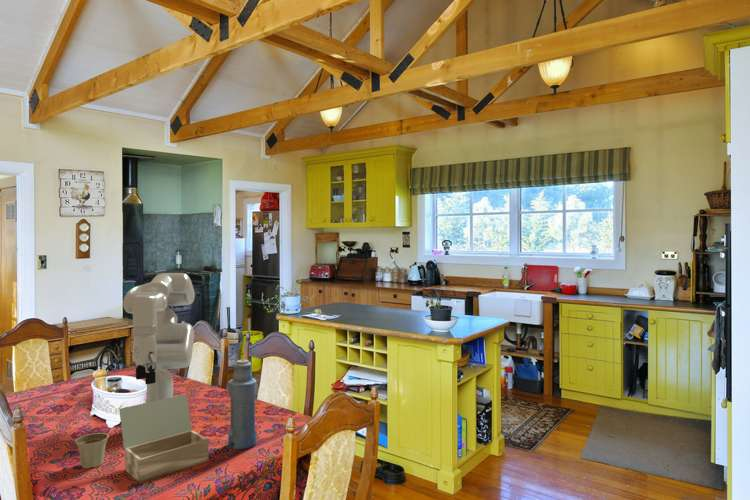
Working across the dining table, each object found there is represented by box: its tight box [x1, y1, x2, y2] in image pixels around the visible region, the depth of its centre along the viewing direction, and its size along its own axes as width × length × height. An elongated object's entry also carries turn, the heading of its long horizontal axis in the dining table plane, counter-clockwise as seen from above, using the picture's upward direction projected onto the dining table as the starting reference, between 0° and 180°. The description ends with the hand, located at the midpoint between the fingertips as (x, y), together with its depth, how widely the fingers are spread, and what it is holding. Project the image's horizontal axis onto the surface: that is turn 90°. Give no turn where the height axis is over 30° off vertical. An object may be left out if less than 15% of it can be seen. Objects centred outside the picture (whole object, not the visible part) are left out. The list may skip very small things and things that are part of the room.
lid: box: [118, 393, 193, 450], centre depth 172 cm, size 12×22×1 cm
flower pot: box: [74, 432, 110, 469], centre depth 167 cm, size 9×9×9 cm
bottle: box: [227, 359, 258, 450], centre depth 182 cm, size 10×10×30 cm
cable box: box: [124, 429, 210, 484], centre depth 166 cm, size 12×22×7 cm, turn 135°
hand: (145, 380), depth 178 cm, fingers open, 7 cm apart
